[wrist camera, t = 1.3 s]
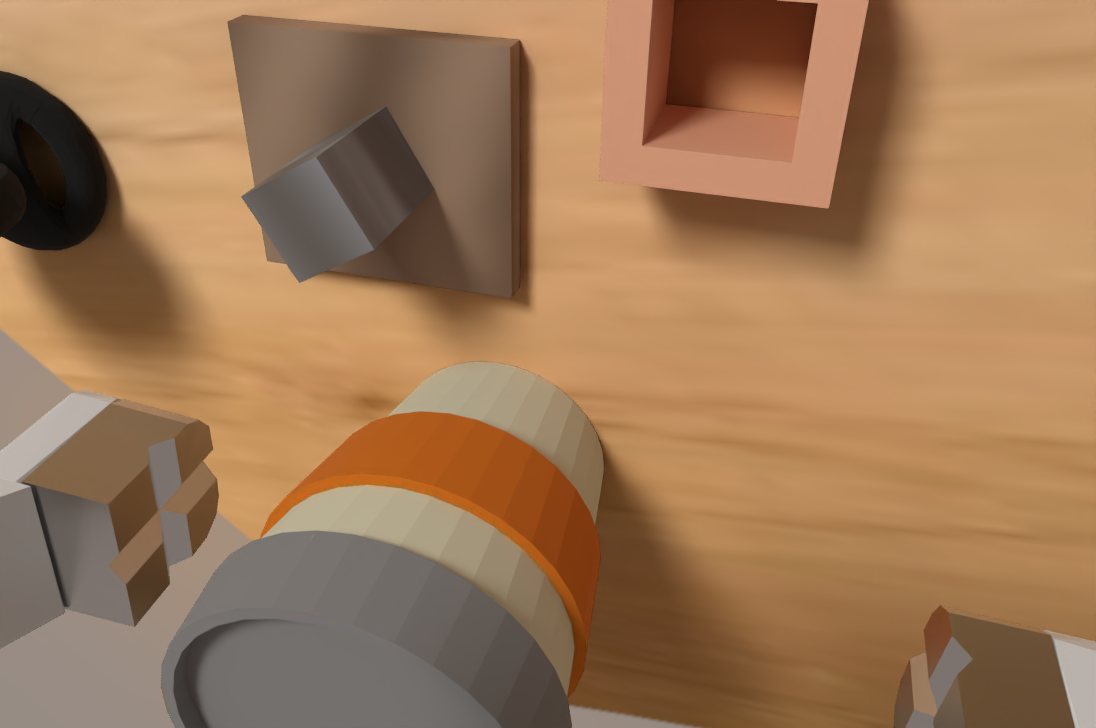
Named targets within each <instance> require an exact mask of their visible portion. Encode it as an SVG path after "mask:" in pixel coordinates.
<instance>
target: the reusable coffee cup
mask: <svg viewBox="0 0 1096 728" xmlns="http://www.w3.org/2000/svg"><path fill="white" fill-rule="evenodd" d="M603 473H604V461H603V451H602V448H601V445H600V442H599V439H598V436H597V433H596V431H595V430H594V428H593V426H592V425H591V423H590V421H589V419H588V418H587V416H586V415H585V414H584V413H583V411H582V410H581V409H580V408H579V407H578V406H577V404H576V403H575V402H574V401H573V400H572V399H571V398H570V397H568V396H567V395H566V394H565V393H564V392H562V391H561V390H560V389H559V388H558V387H556V386H555V385H553V384H551V383H550V382H548V381H546V380H545V379H543V378H541V377H540V376H538V375H536V374H533V373H531V372H528V371H526V370H523V369H521V368H518V367H514V366H510V365H505V364H501V363H496V362H476V361H475V362H468V363H461V364H455V365H453V366H450V367H447V368H444V369H441V370H439V371H438V372H436V373H434V374H433V375H431V376H430V377H428V378H427V379H425V380H424V381H423V382H422V383H421V384H420V385H419V386H418V387H417V388H416V389H415V390H414V391H413V392H412V393H411V394H410V395H409V396H408V397H407V398H406V399H405V400H404V401H403V402H401V403H400V404H399V405H398V406H397V407H396V408H395V409H394V410H393V411H392V412H391V413H390V414H389V415H388V416H387V417H385V418H382V419H379V420H376V421H373V422H371V423H369V424H368V425H366V426H365V427H363V428H361V429H360V430H358V431H357V432H355V433H354V434H352V435H351V436H350V437H349V438H348V439H347V440H346V441H345V442H344V443H343V444H342V445H341V446H340V447H338V448H337V449H336V450H335V451H334V452H333V453H332V454H331V455H330V456H329V457H328V458H327V459H326V460H325V461H324V462H323V463H321V464H320V465H319V466H318V467H317V468H316V469H315V470H314V471H313V472H312V473H311V474H310V475H309V476H308V477H307V478H306V479H304V480H303V481H302V482H301V483H300V484H299V485H298V486H297V487H296V488H295V489H294V490H293V491H292V492H291V493H290V494H289V495H287V496H286V497H285V498H284V499H283V501H282V502H281V503H280V504H279V505H278V506H277V507H276V508H275V510H274V511H273V512H272V513H271V514H270V516H269V518H268V520H267V522H266V525H265V527H264V529H263V531H262V534H261V538H260V539H257V540H254V541H252V542H250V543H248V544H247V545H245V546H243V547H242V548H240V549H238V550H237V551H235V552H233V553H232V554H230V555H229V556H228V557H227V558H226V560H225V561H224V562H223V563H222V564H221V565H220V566H219V567H218V569H217V570H216V571H215V572H214V573H213V575H212V577H211V578H210V580H209V581H208V583H207V585H206V586H205V588H204V589H203V591H202V593H201V594H200V596H199V598H198V599H197V601H196V602H195V604H194V606H193V607H192V609H191V611H190V612H189V614H188V615H187V617H186V619H185V620H184V622H183V623H182V625H181V627H180V628H179V630H178V632H177V633H176V635H175V636H174V638H173V640H172V641H171V643H170V645H169V647H168V650H167V652H166V655H165V657H164V660H163V663H162V675H161V689H162V693H163V697H164V701H165V704H166V709H167V712H168V714H169V716H170V718H171V720H172V722H173V724H174V726H175V728H572V723H571V717H570V710H569V704H568V697H569V696H570V695H571V694H572V693H573V692H574V690H575V688H576V686H577V684H578V682H579V680H580V678H581V676H582V674H583V672H584V665H585V659H586V652H587V646H588V639H589V632H590V626H591V619H592V612H593V606H594V599H595V593H596V586H597V579H598V573H599V566H600V559H601V554H600V545H599V537H598V532H597V530H596V527H595V523H596V517H597V511H598V505H599V499H600V493H601V487H602V480H603Z"/></svg>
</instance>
